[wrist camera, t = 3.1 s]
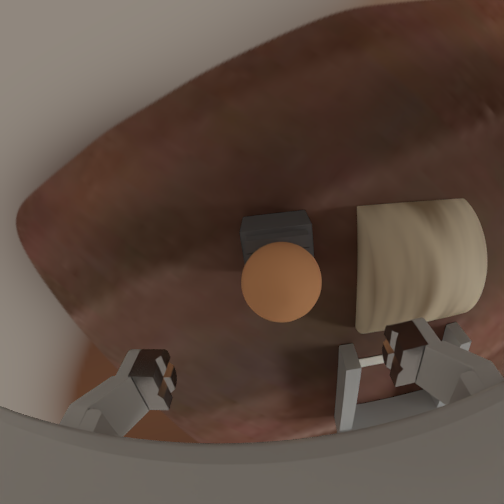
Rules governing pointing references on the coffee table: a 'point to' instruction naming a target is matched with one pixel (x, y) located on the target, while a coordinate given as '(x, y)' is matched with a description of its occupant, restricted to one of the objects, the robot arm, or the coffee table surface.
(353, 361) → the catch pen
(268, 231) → the cube with raised frame
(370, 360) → the line
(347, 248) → the coffee table surface
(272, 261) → the ball
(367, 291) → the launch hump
